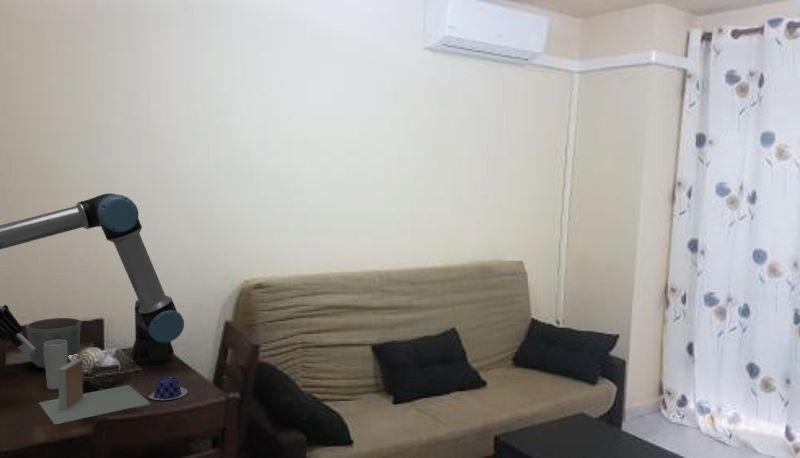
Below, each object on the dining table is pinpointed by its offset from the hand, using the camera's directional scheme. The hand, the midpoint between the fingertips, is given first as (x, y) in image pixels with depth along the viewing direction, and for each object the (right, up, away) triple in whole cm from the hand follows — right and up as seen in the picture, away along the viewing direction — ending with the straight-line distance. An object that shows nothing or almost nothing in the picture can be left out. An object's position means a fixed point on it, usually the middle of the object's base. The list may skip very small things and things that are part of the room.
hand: (31, 352), depth 186 cm
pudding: (+36, -16, +13) cm, 41 cm away
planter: (-14, -12, +37) cm, 42 cm away
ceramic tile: (+11, -16, +2) cm, 19 cm away
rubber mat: (+18, -16, +2) cm, 24 cm away
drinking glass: (-1, -15, +15) cm, 21 cm away
